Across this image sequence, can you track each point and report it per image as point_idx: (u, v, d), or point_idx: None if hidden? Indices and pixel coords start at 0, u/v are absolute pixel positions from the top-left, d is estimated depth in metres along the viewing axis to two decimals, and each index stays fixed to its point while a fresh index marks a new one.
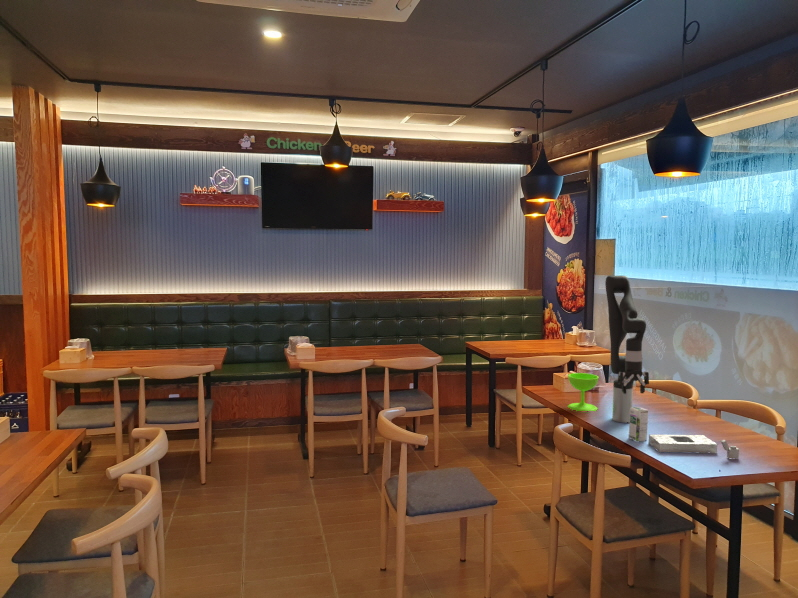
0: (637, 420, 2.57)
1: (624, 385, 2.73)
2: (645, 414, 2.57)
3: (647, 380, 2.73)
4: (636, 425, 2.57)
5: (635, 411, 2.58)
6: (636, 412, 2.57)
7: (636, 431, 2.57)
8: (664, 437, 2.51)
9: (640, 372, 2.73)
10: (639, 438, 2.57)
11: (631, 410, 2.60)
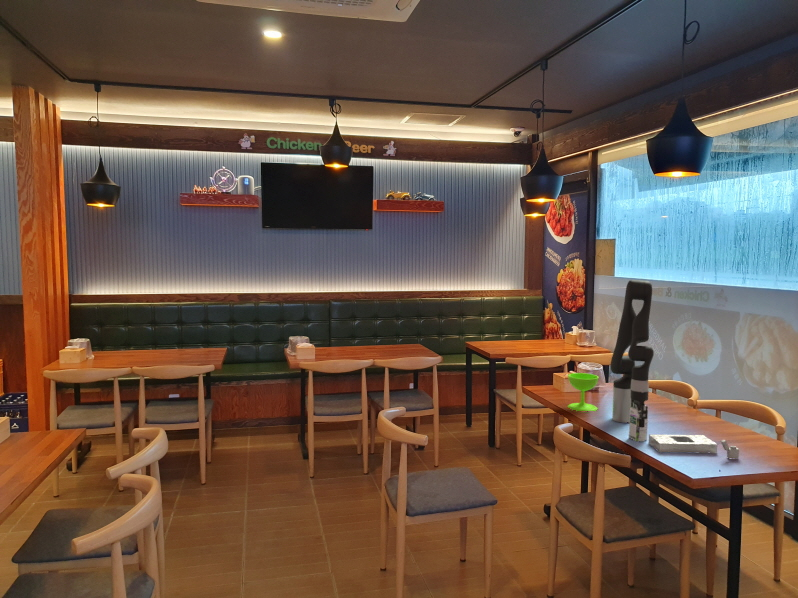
0: (637, 420, 2.57)
1: (644, 418, 2.55)
2: None
3: None
4: (636, 425, 2.57)
5: (635, 411, 2.58)
6: (636, 412, 2.57)
7: (636, 431, 2.57)
8: (664, 437, 2.51)
9: None
10: (639, 438, 2.57)
11: (631, 410, 2.60)
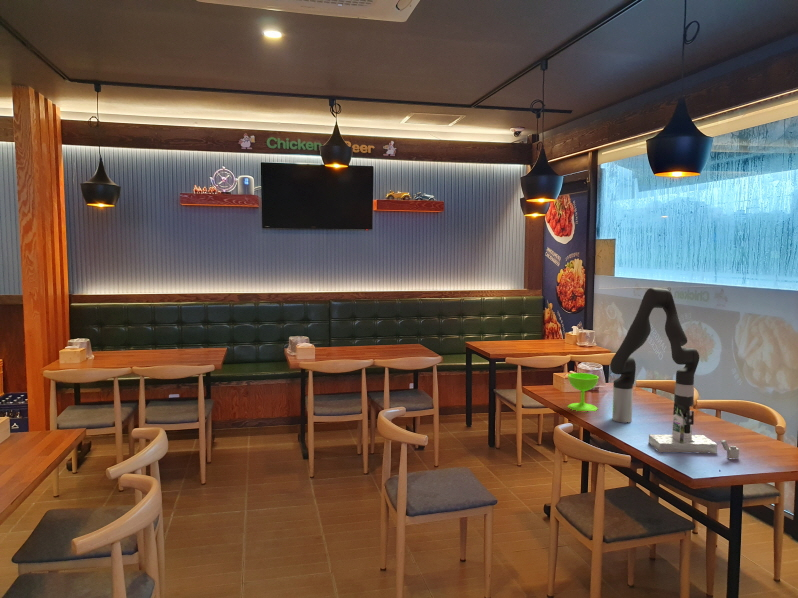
0: (681, 428, 2.45)
1: None
2: None
3: None
4: (680, 433, 2.46)
5: (679, 418, 2.46)
6: (680, 419, 2.46)
7: (680, 439, 2.46)
8: (664, 437, 2.51)
9: None
10: None
11: (674, 417, 2.49)
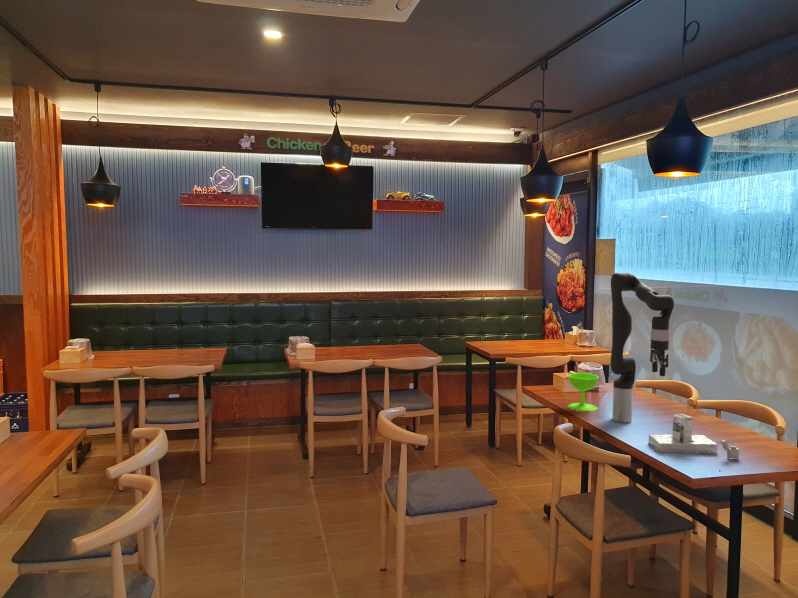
0: (680, 428, 2.45)
1: (665, 367, 2.54)
2: (689, 422, 2.46)
3: None
4: (680, 433, 2.46)
5: (679, 418, 2.46)
6: (680, 419, 2.46)
7: (680, 439, 2.46)
8: (664, 437, 2.51)
9: None
10: None
11: (674, 417, 2.49)
